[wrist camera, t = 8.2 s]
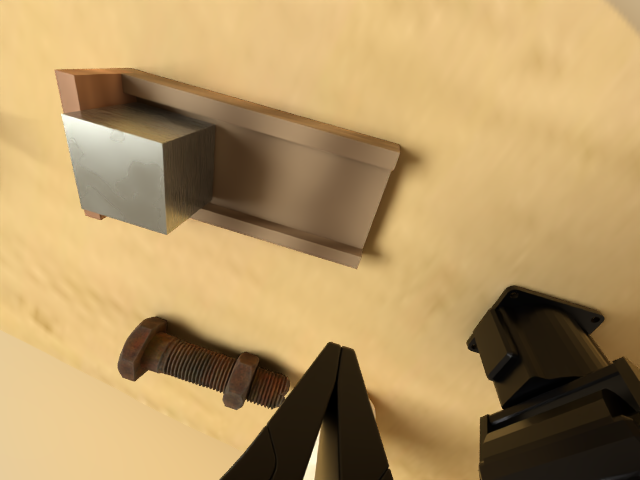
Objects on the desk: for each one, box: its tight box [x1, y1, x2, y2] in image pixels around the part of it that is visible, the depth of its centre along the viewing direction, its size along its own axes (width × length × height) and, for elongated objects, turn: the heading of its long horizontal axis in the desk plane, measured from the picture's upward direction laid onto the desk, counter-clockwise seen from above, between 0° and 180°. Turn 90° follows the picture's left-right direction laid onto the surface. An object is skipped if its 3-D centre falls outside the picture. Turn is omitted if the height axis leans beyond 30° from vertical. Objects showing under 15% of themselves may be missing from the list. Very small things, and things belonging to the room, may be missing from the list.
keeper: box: [61, 102, 215, 235], centre depth 17 cm, size 5×5×5 cm
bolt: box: [118, 317, 290, 410], centre depth 29 cm, size 6×5×15 cm
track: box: [55, 68, 400, 269], centre depth 18 cm, size 17×8×5 cm, turn 77°
